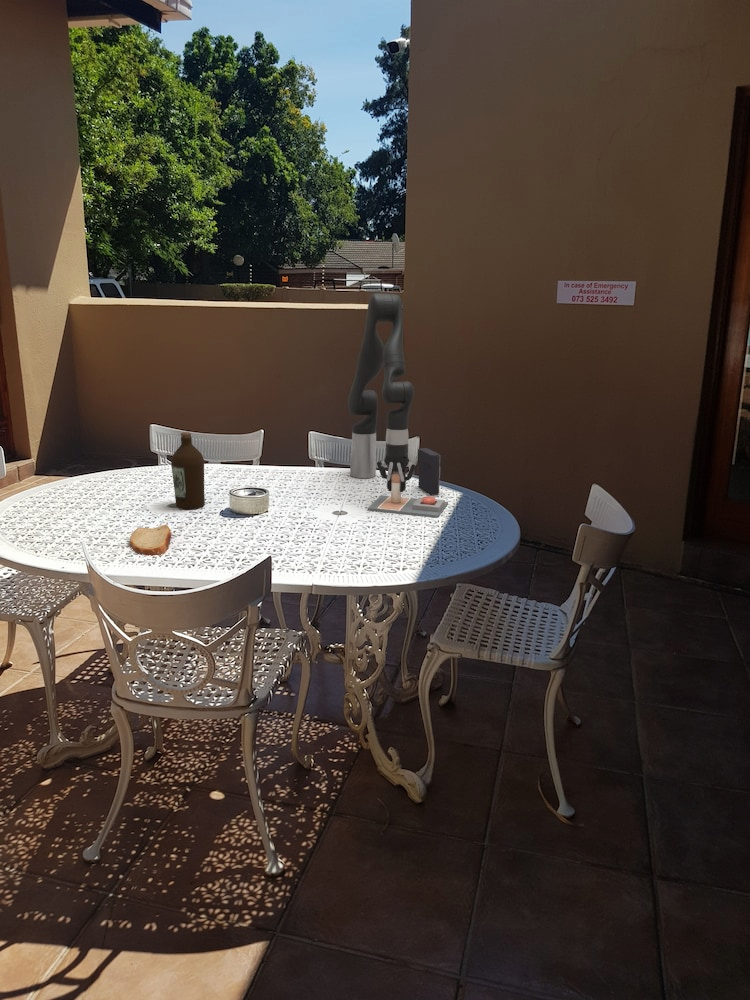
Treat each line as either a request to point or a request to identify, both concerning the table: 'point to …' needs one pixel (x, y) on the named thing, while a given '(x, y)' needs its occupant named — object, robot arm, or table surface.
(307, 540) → the table surface
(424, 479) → the dark grey upright block
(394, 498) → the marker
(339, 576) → the table surface
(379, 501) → the board
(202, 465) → the olive oil
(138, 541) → the bread slice
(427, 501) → the button
